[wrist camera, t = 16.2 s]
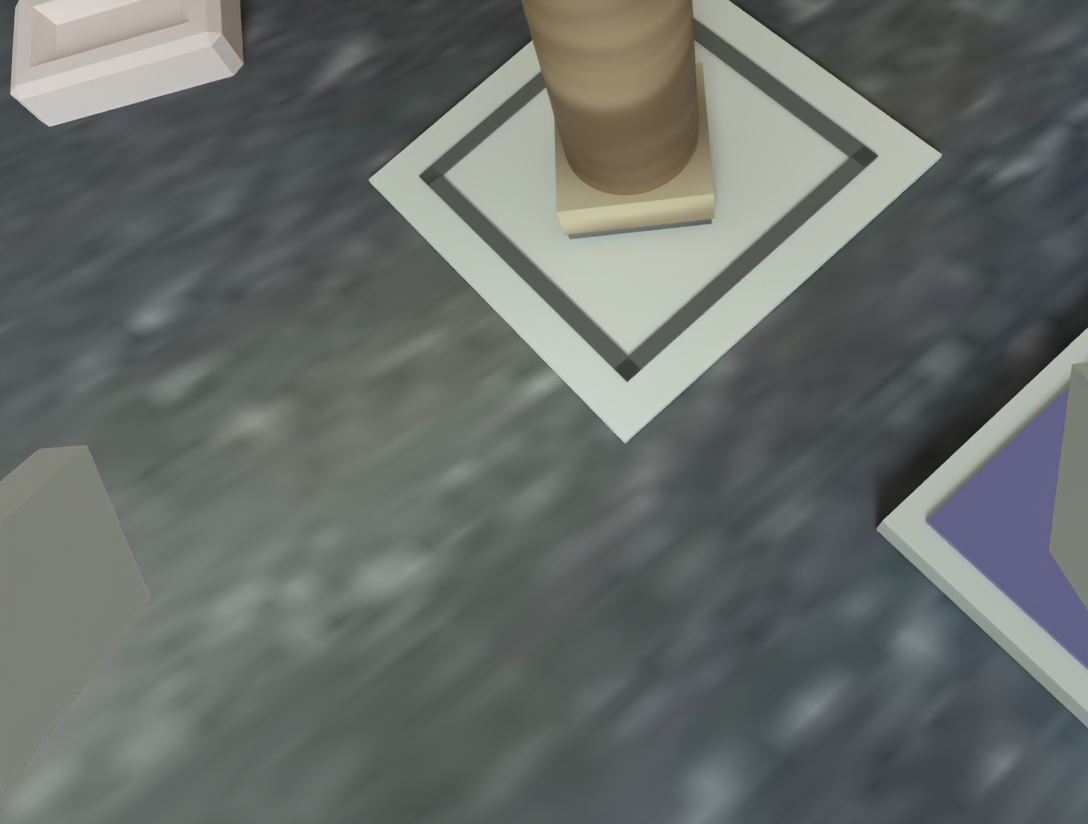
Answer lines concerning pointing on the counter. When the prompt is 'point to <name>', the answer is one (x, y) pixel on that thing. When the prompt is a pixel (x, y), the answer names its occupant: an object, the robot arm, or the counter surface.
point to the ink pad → (1007, 534)
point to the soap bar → (118, 52)
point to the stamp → (625, 114)
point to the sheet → (666, 254)
